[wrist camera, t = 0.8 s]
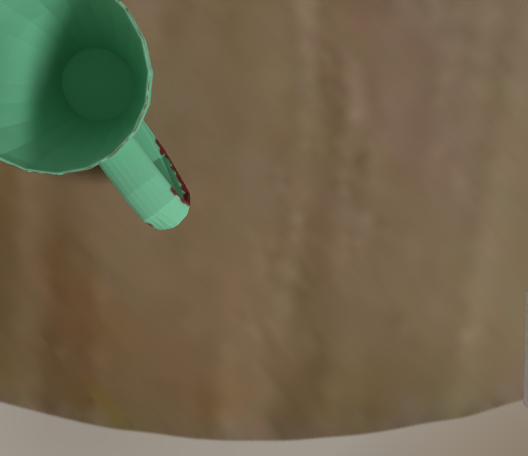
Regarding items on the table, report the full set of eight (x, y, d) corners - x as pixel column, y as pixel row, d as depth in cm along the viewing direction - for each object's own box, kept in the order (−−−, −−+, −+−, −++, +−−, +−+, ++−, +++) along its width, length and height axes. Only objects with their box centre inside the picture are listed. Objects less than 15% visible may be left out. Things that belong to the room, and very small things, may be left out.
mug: (-9, 69, 33) (-110, 48, 23) (107, -27, 32) (53, -89, 22) (136, 241, 36) (102, 286, 26) (246, 157, 35) (252, 173, 26)
